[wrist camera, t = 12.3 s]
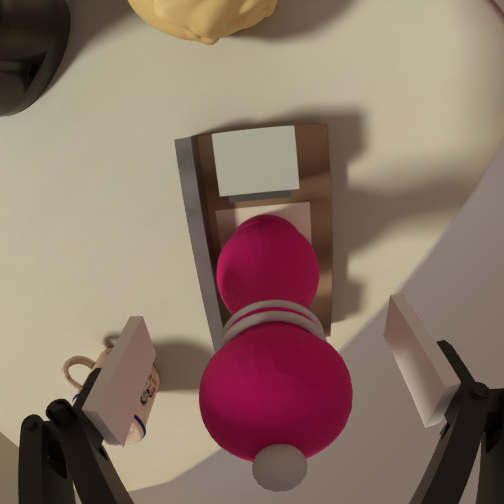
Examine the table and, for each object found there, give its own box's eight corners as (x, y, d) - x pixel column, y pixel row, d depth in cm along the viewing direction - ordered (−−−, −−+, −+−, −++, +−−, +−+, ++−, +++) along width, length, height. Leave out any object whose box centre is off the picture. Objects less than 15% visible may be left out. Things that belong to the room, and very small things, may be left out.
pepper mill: (325, 234, 25) (439, 444, 7) (281, 300, 28) (305, 524, 9) (248, 192, 24) (221, 394, 5) (208, 265, 26) (139, 491, 8)
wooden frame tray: (188, 137, 24) (182, 138, 22) (321, 123, 23) (326, 123, 22) (221, 333, 32) (219, 345, 30) (326, 324, 31) (330, 336, 29)
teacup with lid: (174, 372, 35) (152, 450, 24) (144, 401, 38) (121, 467, 27) (93, 317, 32) (46, 385, 21) (73, 354, 35) (35, 415, 24)
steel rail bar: (182, 138, 22) (174, 139, 20) (197, 135, 22) (190, 137, 20) (219, 345, 30) (217, 361, 28) (231, 344, 30) (229, 360, 28)
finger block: (221, 132, 22) (211, 134, 18) (286, 125, 22) (294, 125, 17) (228, 189, 24) (221, 205, 19) (292, 183, 24) (299, 198, 19)
